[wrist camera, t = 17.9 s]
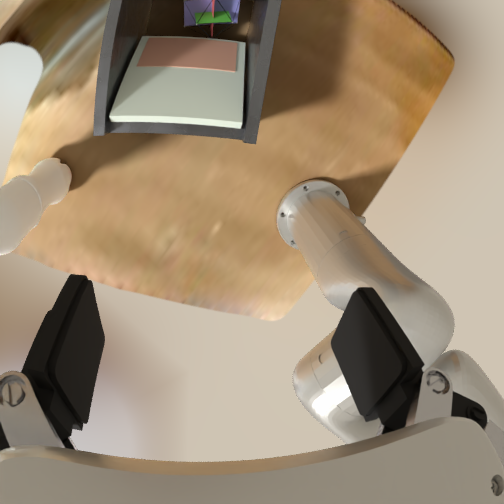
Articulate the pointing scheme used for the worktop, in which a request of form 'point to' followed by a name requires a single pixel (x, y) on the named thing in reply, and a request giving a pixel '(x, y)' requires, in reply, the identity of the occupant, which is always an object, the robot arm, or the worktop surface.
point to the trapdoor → (183, 82)
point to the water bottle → (30, 200)
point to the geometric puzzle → (210, 13)
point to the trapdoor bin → (125, 44)
